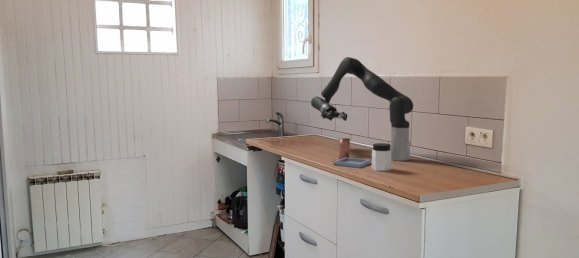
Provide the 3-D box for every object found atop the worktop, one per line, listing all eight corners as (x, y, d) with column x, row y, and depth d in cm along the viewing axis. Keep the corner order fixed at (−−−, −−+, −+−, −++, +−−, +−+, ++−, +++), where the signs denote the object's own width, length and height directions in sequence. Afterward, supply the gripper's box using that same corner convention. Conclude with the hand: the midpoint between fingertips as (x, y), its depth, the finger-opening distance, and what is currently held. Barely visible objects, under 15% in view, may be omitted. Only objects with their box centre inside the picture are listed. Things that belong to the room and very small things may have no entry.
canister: (351, 158, 237) (351, 138, 236) (347, 160, 232) (347, 139, 231) (341, 157, 240) (342, 137, 239) (337, 159, 235) (337, 139, 234)
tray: (370, 163, 224) (370, 159, 224) (359, 167, 212) (359, 164, 212) (345, 160, 231) (345, 157, 231) (333, 165, 219) (333, 161, 219)
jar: (370, 170, 206) (371, 145, 204) (372, 167, 214) (373, 142, 212) (390, 171, 203) (390, 146, 202) (391, 168, 211) (392, 143, 210)
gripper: (317, 104, 254) (327, 112, 239) (340, 105, 258) (351, 112, 243) (316, 117, 257) (325, 125, 242) (339, 117, 260) (349, 125, 246)
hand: (338, 119), depth 243 cm, fingers open, 8 cm apart
